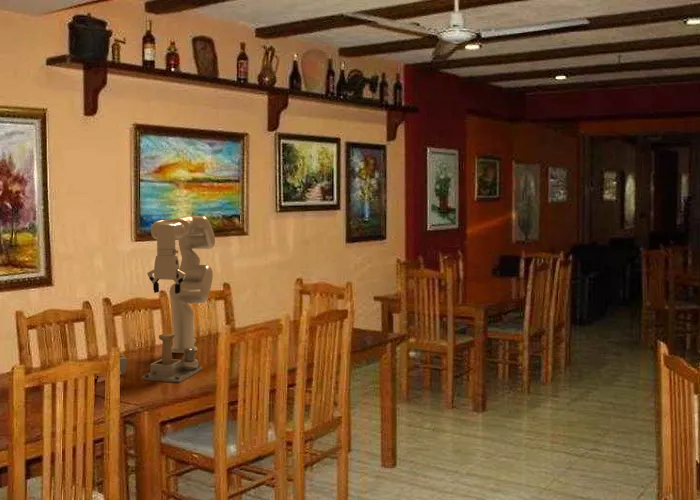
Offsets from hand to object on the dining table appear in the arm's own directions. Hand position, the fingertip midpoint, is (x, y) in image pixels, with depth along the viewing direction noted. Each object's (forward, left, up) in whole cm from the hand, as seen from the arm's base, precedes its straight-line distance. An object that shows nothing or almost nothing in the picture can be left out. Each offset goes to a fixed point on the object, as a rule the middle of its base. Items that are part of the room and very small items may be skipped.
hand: (166, 292), depth 335 cm
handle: (+19, +9, -29) cm, 36 cm away
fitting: (+18, +11, -30) cm, 37 cm away
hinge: (+29, -11, -31) cm, 43 cm away
